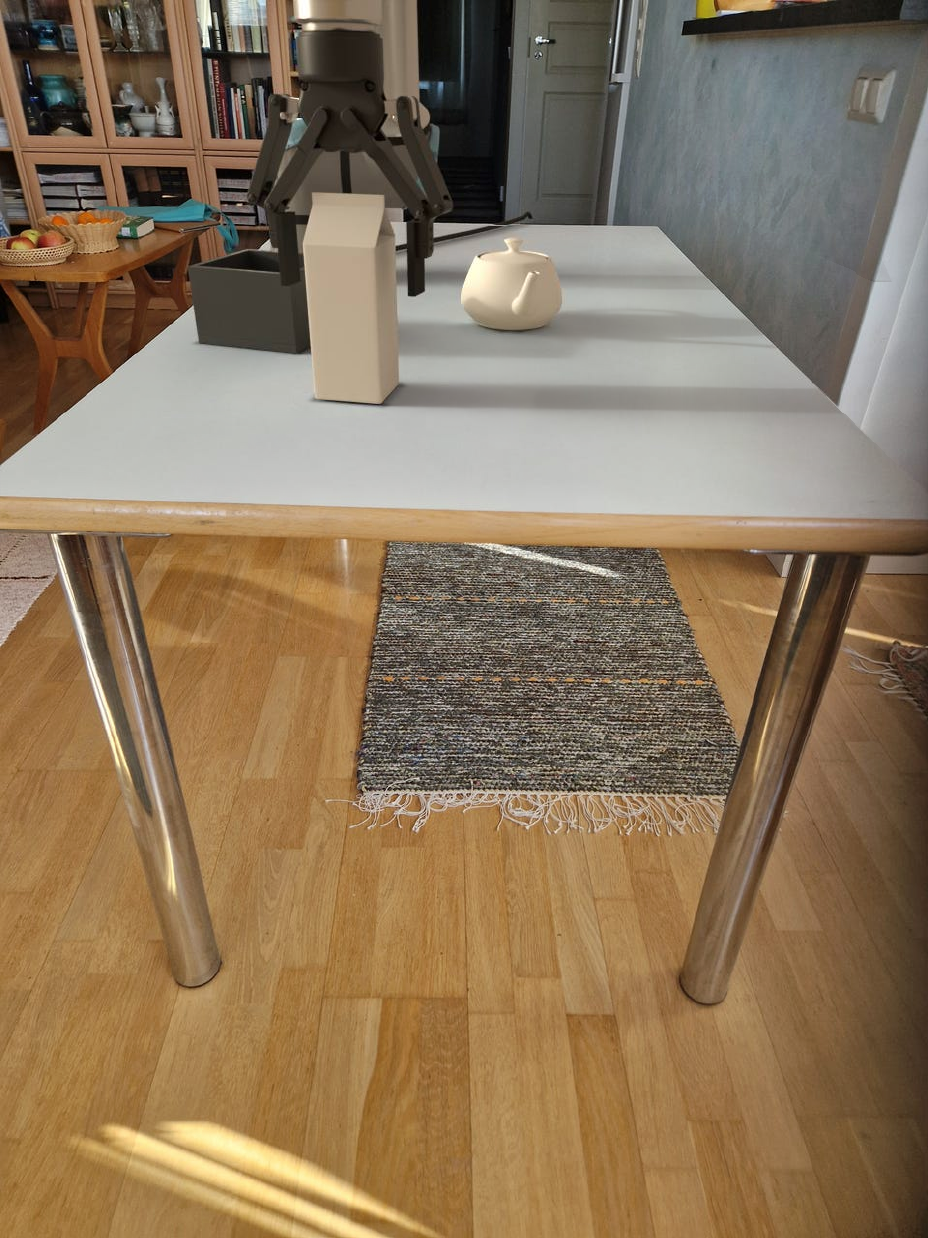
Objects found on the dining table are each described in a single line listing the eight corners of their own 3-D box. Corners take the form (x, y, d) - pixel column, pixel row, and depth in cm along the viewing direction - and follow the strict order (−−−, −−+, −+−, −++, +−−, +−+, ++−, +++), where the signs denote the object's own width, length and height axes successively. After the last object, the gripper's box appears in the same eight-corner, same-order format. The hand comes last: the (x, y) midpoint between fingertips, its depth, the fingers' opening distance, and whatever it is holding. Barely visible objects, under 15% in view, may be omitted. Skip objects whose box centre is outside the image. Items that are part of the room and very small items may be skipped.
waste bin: (254, 319, 118) (246, 248, 113) (345, 327, 115) (340, 255, 110) (198, 343, 107) (187, 266, 102) (296, 353, 104) (289, 274, 99)
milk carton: (381, 405, 88) (373, 199, 77) (314, 400, 89) (298, 196, 79) (399, 385, 93) (394, 190, 83) (337, 380, 95) (324, 188, 85)
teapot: (447, 307, 125) (447, 227, 120) (538, 304, 128) (542, 225, 122) (480, 347, 107) (482, 254, 101) (585, 342, 110) (593, 252, 104)
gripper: (189, 27, 74) (222, 285, 86) (461, 25, 68) (459, 306, 79) (235, 32, 81) (260, 273, 92) (489, 31, 74) (483, 290, 85)
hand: (352, 288), depth 85 cm, fingers open, 13 cm apart
